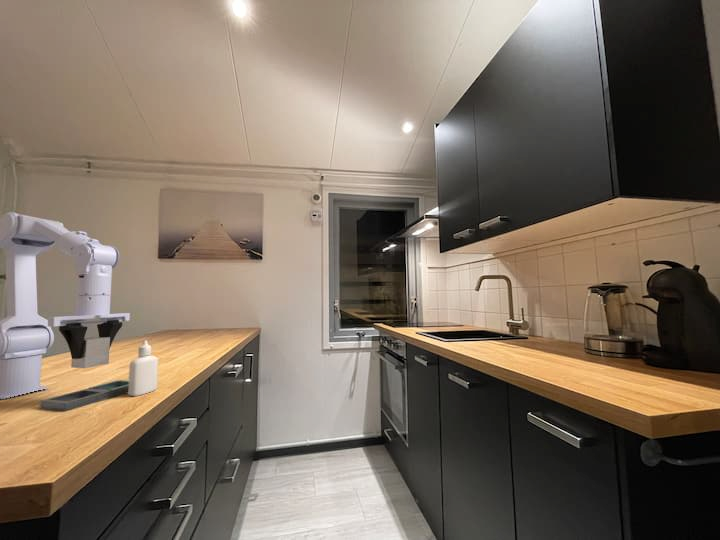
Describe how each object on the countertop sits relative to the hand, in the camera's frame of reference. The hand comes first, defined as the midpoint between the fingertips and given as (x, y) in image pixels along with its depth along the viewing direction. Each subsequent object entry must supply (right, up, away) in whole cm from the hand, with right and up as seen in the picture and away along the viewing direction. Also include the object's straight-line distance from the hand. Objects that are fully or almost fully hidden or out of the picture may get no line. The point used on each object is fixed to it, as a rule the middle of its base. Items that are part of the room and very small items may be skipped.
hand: (90, 356), depth 65 cm
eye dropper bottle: (+10, -10, +3) cm, 14 cm away
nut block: (0, -2, 0) cm, 2 cm away
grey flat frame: (+1, -10, +1) cm, 10 cm away
